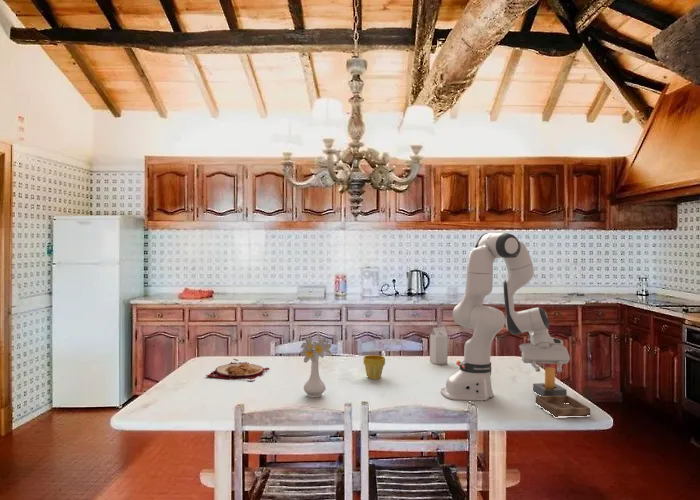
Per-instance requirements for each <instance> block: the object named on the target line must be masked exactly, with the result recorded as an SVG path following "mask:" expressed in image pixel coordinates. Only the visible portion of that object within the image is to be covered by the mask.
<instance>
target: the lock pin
mask: <svg viewBox="0 0 700 500" xmlns="http://www.w3.org/2000/svg"><path fill="white" fill-rule="evenodd" d="M555 382H556V368H555V367H549V366H546V367H544V383H545V388H555V384H556V383H555Z"/></svg>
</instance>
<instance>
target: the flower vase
mask: <svg viewBox="0 0 700 500" xmlns="http://www.w3.org/2000/svg"><path fill="white" fill-rule="evenodd" d="M312 339H313V337H312V336H311V337H310V338H309V336H306V337H305V342H302V344H301V345H300V348H302V350H301V351H299V354H300V355H301V356H303V357H304V358H303V363H308V362H309V360H310V362H311V365H310V366H311V368H310V369H311V370H310V376H309V378H308V380H307V381H306V382H304V385H303V390H304V392H305V394H306V395H307V397H308V398H311V399H317V398H321V397H322V395H323V394H324V392H325V391H326V390H327V389H326V388H327V387H326V384H325V383H324V381H322V378H321V376H320V373H319V369H320V367H319V359H320V358H321V359H322V358H324V355H325V354H324V353H326V354H327V356H332V352H331V350H330V349H331V348H332V344H331V343H329V338H326V337H325V336H324V337H321V336H320V334H318V335H317V339H318V340H317V341H315V340H312Z"/></svg>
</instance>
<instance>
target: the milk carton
mask: <svg viewBox="0 0 700 500" xmlns="http://www.w3.org/2000/svg"><path fill="white" fill-rule="evenodd" d="M429 336H430V337H429V362H431V363H433V364H434V365H445V364H447V365H448V356H449V355H448V353H449V352H448V351H449V349H448V346H449V344H448V343H449V336H448V333H447V331H446V328H445V327H433V328H432V331H431V332H430V334H429Z"/></svg>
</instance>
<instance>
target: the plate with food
mask: <svg viewBox="0 0 700 500" xmlns="http://www.w3.org/2000/svg"><path fill="white" fill-rule="evenodd" d="M233 360H234V362H232V361H231V362H230V363H227V364H224V365H219V366H217V367H216V368H215V370H213V371H211V372H210V373H209V374H205V376H206V377H213V378H216V379H225V380H234V381H236V380H238V381H241V380H242V379H243V380H242V382H245V381H246V380H247V382H254V381H255V379H256V378H258V377H259V378H260V377H262V376H263V373H264V372H266V373H267V372H268V373H270V370H271V369H270V367H265V368H264V367H263V366H262V365H258V364H255V363H249V362H247V361H245V362H241V361H240V362H239V359H236V358H233ZM214 374H215V375H214Z"/></svg>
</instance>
